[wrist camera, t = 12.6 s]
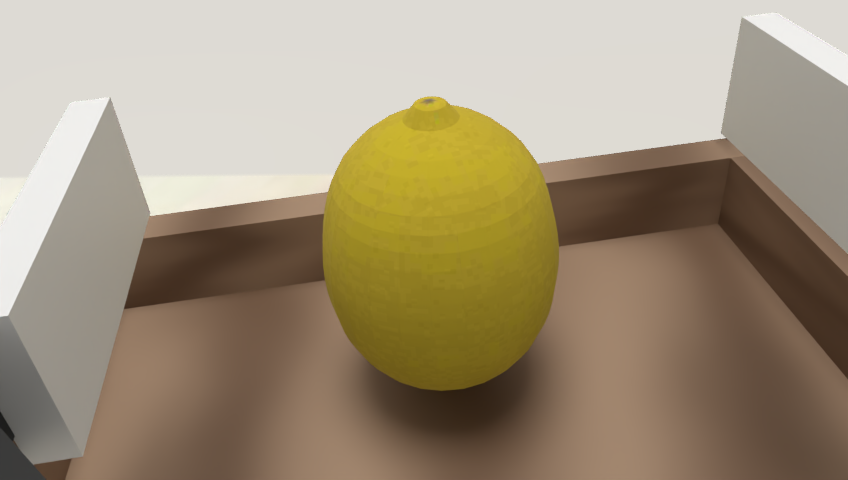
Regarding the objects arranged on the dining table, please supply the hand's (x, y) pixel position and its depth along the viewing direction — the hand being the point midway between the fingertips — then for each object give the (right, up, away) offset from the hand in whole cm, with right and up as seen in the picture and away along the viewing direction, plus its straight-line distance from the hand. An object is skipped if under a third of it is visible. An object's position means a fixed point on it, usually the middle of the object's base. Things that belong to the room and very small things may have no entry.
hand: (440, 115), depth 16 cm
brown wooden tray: (0, -7, +5) cm, 9 cm away
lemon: (0, -6, +4) cm, 8 cm away
